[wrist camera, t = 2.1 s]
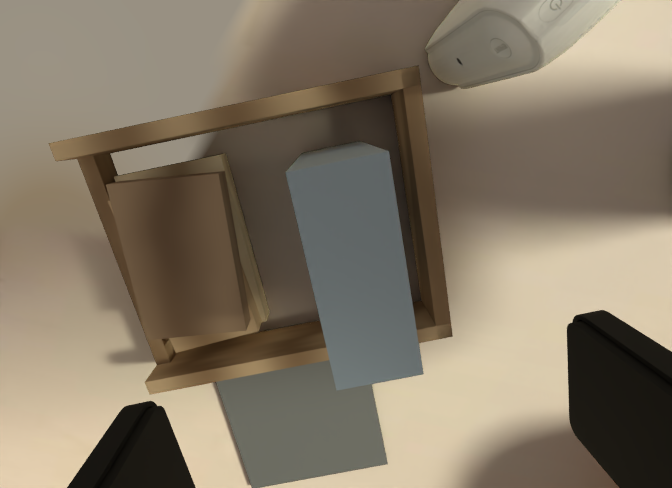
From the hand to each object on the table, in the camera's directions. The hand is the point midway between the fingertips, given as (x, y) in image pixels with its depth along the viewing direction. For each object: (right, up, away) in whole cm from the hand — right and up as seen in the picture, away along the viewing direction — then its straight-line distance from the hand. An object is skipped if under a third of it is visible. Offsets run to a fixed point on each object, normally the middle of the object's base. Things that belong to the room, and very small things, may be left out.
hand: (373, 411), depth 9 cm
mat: (-3, -11, +23) cm, 26 cm away
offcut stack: (-11, +4, +19) cm, 22 cm away
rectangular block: (0, +6, +19) cm, 20 cm away
